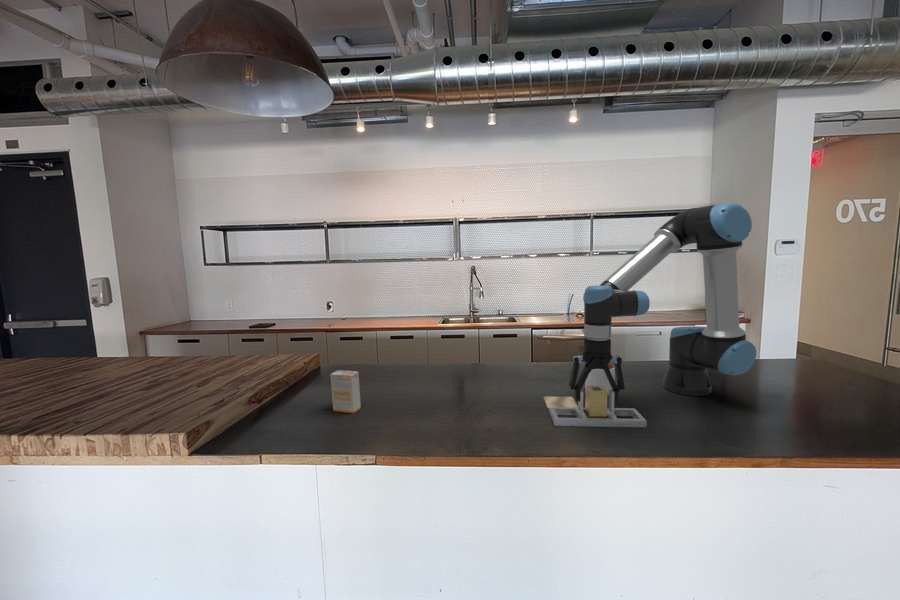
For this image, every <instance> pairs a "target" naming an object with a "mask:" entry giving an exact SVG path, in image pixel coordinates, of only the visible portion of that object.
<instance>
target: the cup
mask: <svg viewBox="0 0 900 600" xmlns="http://www.w3.org/2000/svg"><path fill="white" fill-rule="evenodd" d="M608 367H609V370H610V372H611V375H612V377H613V379H614V381H615V382H616V373H615V367H614V364H612V363H609V364H608ZM586 386H603V387H604V388H605V389H606V390H607V391H608V393H607V397H609V389H612V387H611V385H610V383H609V381H608V379H607V377H606V374H605V372H604V370H603V369H592V370H591V372H590V373H589V375H588V377H587V379H586V381H585V383H584V387H585V388H584V390H586Z"/></svg>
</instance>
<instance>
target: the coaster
mask: <svg viewBox="0 0 900 600" xmlns="http://www.w3.org/2000/svg"><path fill="white" fill-rule="evenodd" d="M542 397H543V400H544V402H545V406H546V407H547V409H548V410H550V407H565V408H578V403H577V401H576V399H574V397H573V396H542Z"/></svg>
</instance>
